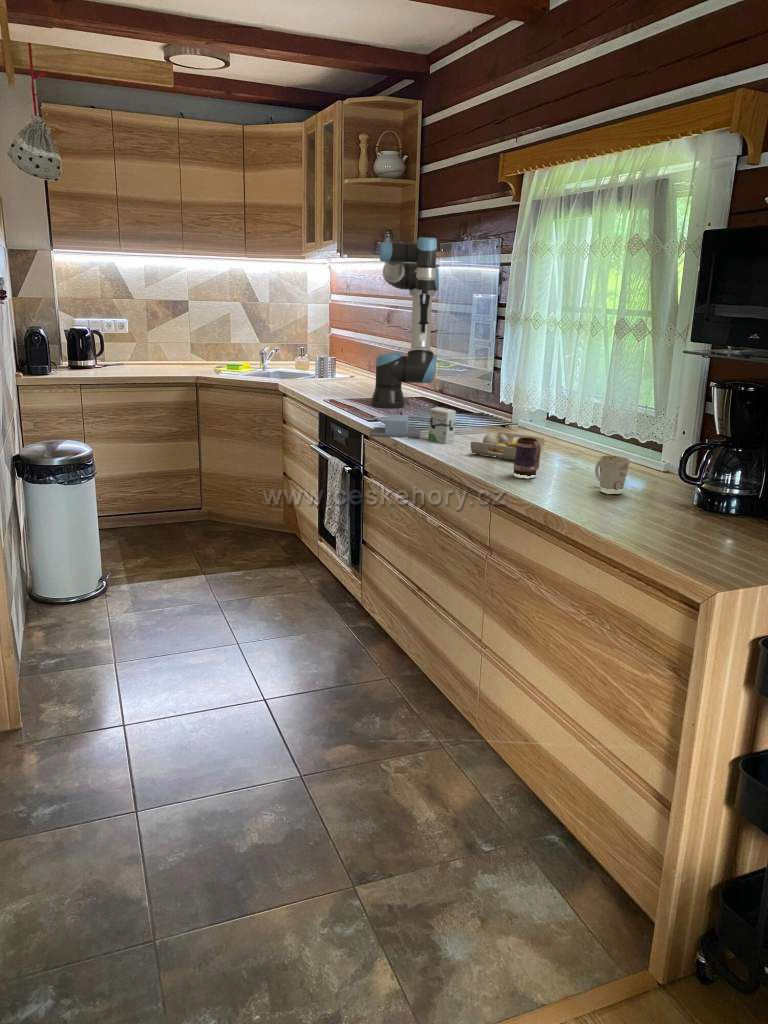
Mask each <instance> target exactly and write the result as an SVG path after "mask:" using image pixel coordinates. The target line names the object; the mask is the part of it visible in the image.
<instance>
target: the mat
mask: <svg viewBox="0 0 768 1024" xmlns="http://www.w3.org/2000/svg"><path fill="white" fill-rule="evenodd" d="M421 433H422V429H417V428H408V431H407V434H406V435H404V434H385V427H378V426H377V427H376V426H375V427H374V428H373V430H372V431H371V434H370V436H371V437H380V438H382V437H383V438H402V437H408V438H407V439H420V437H421Z"/></svg>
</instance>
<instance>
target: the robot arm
mask: <svg viewBox="0 0 768 1024" xmlns="http://www.w3.org/2000/svg"><path fill="white" fill-rule="evenodd" d="M437 250H438V241H437V238H435V237H418V239H417V242H395V241H383V242H381V243H380V245H379V260H380V262H382V263H383V262H384V266H383V268H382V277H383V279H384V281H385V282H386V283H388V284H389V285H390V286H392V287H394V288H395V289H398V290H408V292H409V295H410V296H411V297H412V307H411V309H412V311H411V334H410V335H411V341H410V345H411V346H410V349H408V351H407V355H404V353H403V352H402V351H400V352H399V351H398V352H397V351H396V352H395V351H393V352H385V353H381V354H379V355H377V356H376V360H375V361H376V363H375V387H374V392H373V394H372V397H371V400H370V405H371V406H372V407H376V408H382V409H383V408H385V409H398V408H404V407H405V405H406V403H405V402H406V401H405V397H404V394H403V390H402V383H406V384H407V383H409V384H411V383H412V384H414V383H415V384H430V383H432V382H433V380H434V378H435V377H434V376H435V372H436V368H437V367H436V365H437V359H438V358H437V356H434V351H433V350H432V349H431V334H432V333H431V332H432V306H433V305H432V301H433V299H432V298H433V297H434V296H435V295H436V292H437V291H439V288H440V287H439V286H440V284H439V280H440V279H439V271H438V265H436V264H437V252H438V251H437Z"/></svg>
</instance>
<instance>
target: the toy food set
mask: <svg viewBox="0 0 768 1024" xmlns="http://www.w3.org/2000/svg"><path fill="white" fill-rule="evenodd" d="M514 438H534V439H537V442H539V443H540V444H541V452H543V449H544V446H545V444H546V443H545V442H546V438H545V437H542V436H536V435H530V434H525V433H517V432H509V431H498V432H497V434H496V439H495V437H494V435H493V434H492V433H487V434H486V435H485V436H484V437H483V439H482V442H481V441H474V440H473V441H471V442H470V451H471V453H472V454H473V453H476V454H482V455H481V456H483V455H489V456H496V457H501V458H507V459H506V460H508V459H513V460H512V461H514V460H515V456H516V448H517V441H518V439H515V440H514ZM476 454H475V455H476ZM489 456H488V457H489ZM501 458H500V459H501Z"/></svg>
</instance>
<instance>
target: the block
mask: <svg viewBox="0 0 768 1024" xmlns="http://www.w3.org/2000/svg"><path fill="white" fill-rule="evenodd" d="M409 418H410V417H409V415H408V414H404V415H403V414H387V416H386V419H385V425H384V426H385V427H384V428H385V434H404V435H406V434H407V431H408V429H409V420H410V419H409Z"/></svg>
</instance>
